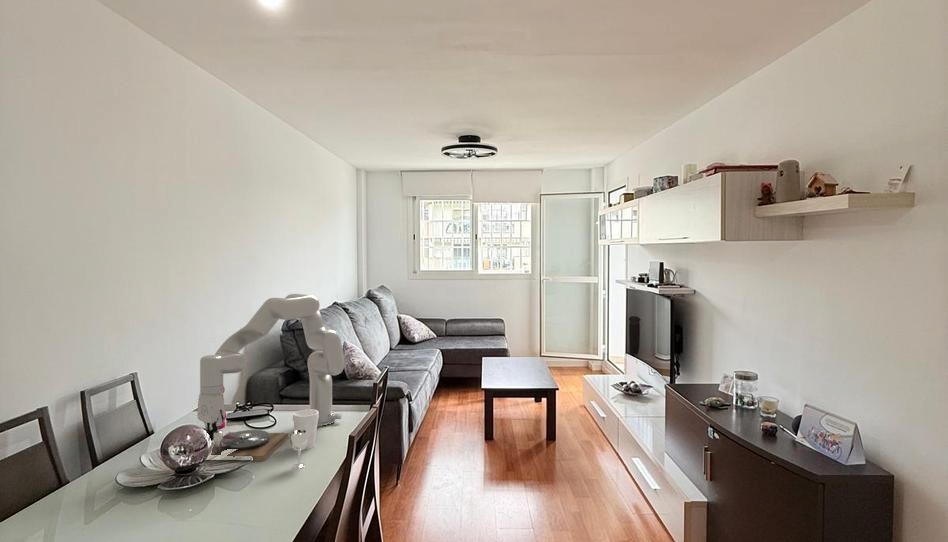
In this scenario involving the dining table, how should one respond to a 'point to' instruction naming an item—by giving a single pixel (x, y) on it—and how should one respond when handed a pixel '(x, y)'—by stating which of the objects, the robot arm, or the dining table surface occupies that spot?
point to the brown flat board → (260, 447)
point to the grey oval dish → (239, 440)
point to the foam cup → (307, 424)
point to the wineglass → (299, 445)
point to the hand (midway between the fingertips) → (212, 439)
